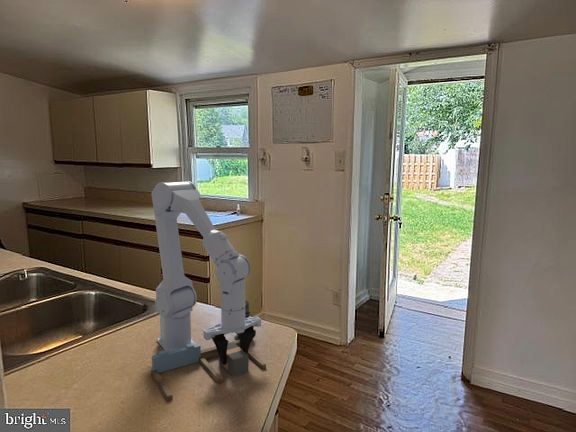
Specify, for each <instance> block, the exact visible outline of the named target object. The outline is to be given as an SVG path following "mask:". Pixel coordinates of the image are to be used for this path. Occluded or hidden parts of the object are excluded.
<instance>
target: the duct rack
mask: <svg viewBox="0 0 576 432" xmlns="http://www.w3.org/2000/svg"><path fill="white" fill-rule="evenodd" d="M232 342H234V343H235V344H236V345H237V346H238V347H240V340H233V341H231V342H228V344H229V343H232ZM185 346H186V347H184V348H180V349H176V350H172V351H169V352H167V351H166V350H164V349H163V350H159V351H158V353H157V354H153V355H151V369H152V370H151V376H152V378H153V379H154V381H155V383H156V384H157V386H158V387H159V389H160V390H161V392H162V394H163V396H164V397H165V399H166V400H167V402H169V401H171V400H173V393H172V392H171V391H170V389H169V388H168V386H167V384H166V383H165V381H164V380H163V378H162V376H161V375H160V374H159V373H163V372H164V373H165V372H167V371H170V370H174V369H177V368H181V367H185V366H188V365H191V364H194V363H200V365H202V367H203V368H204V369H205V370H206V372H208V374H210V376H211V377H212V378H213V379H214V380H215V381H216V382H217V383H218V384H219V385H220V384H222V383H223V381H224V379H223V377H222V375H220V374H219V373H218V372H217V370H216V369H214V367H213V366H212V364H210V363H209V362H208V359H211V358H212V359H213V358H215V357H219V354H218V351H217V348H216V346H215V345H214V346H212V347H209V348H205V349H201V348H202V347H201V345H200V343H196V344H195V345H193V344H192V343H189V344H185ZM247 354H248V355H249V359H250V360H251V361H253V363H255V364H256V365H257V366H259V367H260V368H261V369H266V368H267V364H266V363H265V362H264V361H263V360H262V359H261V358H260V357H258V356H257V355H256V354H255V353H254V352H252V351H251V350H250V349H249V350H248V353H247Z"/></svg>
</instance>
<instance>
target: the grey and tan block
mask: <svg viewBox="0 0 576 432" xmlns="http://www.w3.org/2000/svg"><path fill="white" fill-rule="evenodd" d="M231 342H232V343H229V342H228V343H229V344H228V346H227V363H226V365H223V364H222V363H221V362H220V358H219V357H218V362H219V363H220V364H221V365H222V366H223V367H224V368H225V369H226V371H228V372H229V373H230V374H231V375H232V376H233V377H235V376H238V375H241V374H244V373H247V372H249V359H250V358H249V355H248V354H246V353H245V352H244V351H243V350H242V349H241V348H240V347H238V346H237V345H236V344H235V343H234V342H233V341H231Z"/></svg>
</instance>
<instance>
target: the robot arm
mask: <svg viewBox="0 0 576 432" xmlns="http://www.w3.org/2000/svg"><path fill="white" fill-rule="evenodd" d="M200 195H201V193H200V191H199V190H198V189H197V187H196V186H195V183H193V182H192V181H190V180H185V181H175V182H163V181H161V182H158V183H157V184H156V185H155V187H154V188H153V190H152V191H151V201H152V206H153V207H152V208H153V215H154V222H155V228H156V236H157V243H158V249H159V255H160V256H159V257H160V263H161V265H160V266H161V269H162V270H161V272H162V278H163V279H162V281H161V282H160V283H159V285H157V287H156V288H155V304H154V306H155V309H156V312H157V313H158V314H159V316H160V317H159V330H160V331H159V335H160V337H157V338H156V341H157V342H158V343H159V345H160V346H161V347H162V349H163V350H166V351H167V352H169V351H172V350H176V349H180V348H184V347H186V346H185V344H189V343H192V344H193V345H195V344H197V343H196V342H195V341H194V340H193V339H192V320H191V319H192V317H191V316H192V315H191V314H192V313H191V312H192V311H193V310H194V308H193V307H195V306H196V303H197V300H198V296H197V292H196V290H195V288H194V285H193V281H192V280H191V279H190V278H188V277H187V276H186V275H185V271H184V263H183V255H182V248H181V241H180V233H179V232H180V231H179V226H178V217H179V216H180V215H181V213H182V214H185V215H186V217H188V219H189V220H190V222H191V224H193V225H194V227H195V228H196V230H197V231H198V232H199V233H200V235H201V236H202V237H203V239H202V242H201V244H202V246H203V247H204V249H205V251H206V253H207V254H208V255H209V257H210V259H211V260H212V262H213V263H214V266H215V267H216V269H215V270H214V271H215V276H216V279H217V281H218V284H219V286H218V287H219V288H220V297H221V298H220V307H221V308H220V312H221V314H220V315H221V320H220V321H221V322H219V323H217V324H215V325H212V326H211V327H207V328H206V329H205V328H204V329H203V330H202V331H203V334H202V335H203V339H205V340H206V341H210V340H212V342H213V344H214V347H215V346H216V348H217V351H218V354H219V356H218V359H219V358H220V362H221V363H222V364H223V365H226V363H227V346H228V343H229V340H228V339H226V336H225V335H228V334H233V333H235V332H236V333H239V338H240V348H241V349H242V350H243V351H244V352H245V353H246V354H247V353H248V350H250V346H251V344H252V342H253V340H254V338H255V337H256V335H257V331H256V330H255V329H254V328H255V327H257V328H261V327H262V318H260V317H259V316H252V317H249V318H245V300H246V278H247V277H249V275H250V273H251V265H250V262H249V260H248V258H247V257H246V256H245V255H243V254H240V253H239V252H238V251H236V250H235V248H234V246H233V245H232V243H231V242H230V241H229V239H228V236H227V234H226V233H224V232H223V231H221V230H217V229H216V228H215V226H214V225H213V223H212V221H211V219H210V217H209V215H208V214H207V211H206V210H205V209H204V208H205V207H203V204H202V203H201V201H200ZM253 327H254V328H253ZM236 333H235V334H236ZM220 362H219V363H220ZM221 363H220V364H221ZM222 364H221V365H222ZM223 365H222V366H223Z"/></svg>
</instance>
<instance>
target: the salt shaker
mask: <svg viewBox="0 0 576 432" xmlns="http://www.w3.org/2000/svg"><path fill="white" fill-rule="evenodd" d="M249 307H250V303H249V301H248V300H246V299H245V318H250V314H251V312H250V309H249ZM254 328H255V327H253V329H254ZM235 334H236V335H235V336H234V338H233V339H234V341H236V340H240V338H239V333H236V332H235Z"/></svg>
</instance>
